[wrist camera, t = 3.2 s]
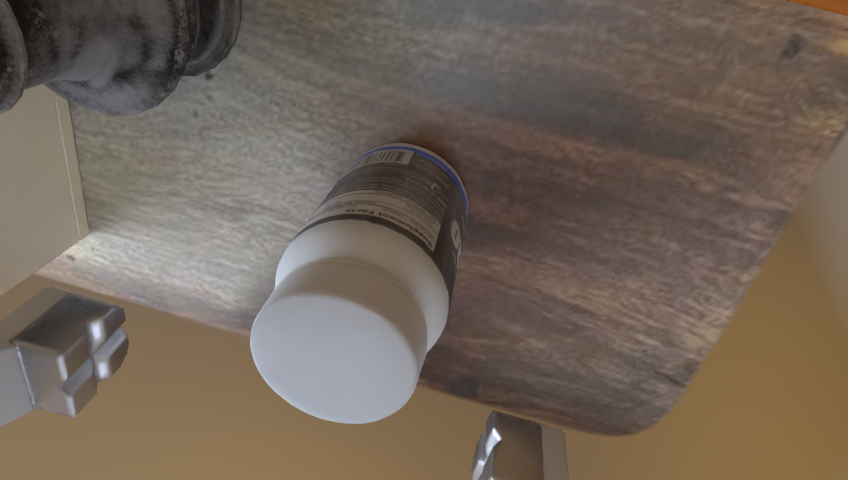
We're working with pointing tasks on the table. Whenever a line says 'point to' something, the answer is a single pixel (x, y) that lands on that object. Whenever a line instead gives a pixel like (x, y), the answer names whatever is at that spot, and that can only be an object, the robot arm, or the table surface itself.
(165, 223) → the table surface
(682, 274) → the table surface
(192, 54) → the chess bishop
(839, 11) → the amber tray
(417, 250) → the pill bottle
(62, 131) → the cream bin
